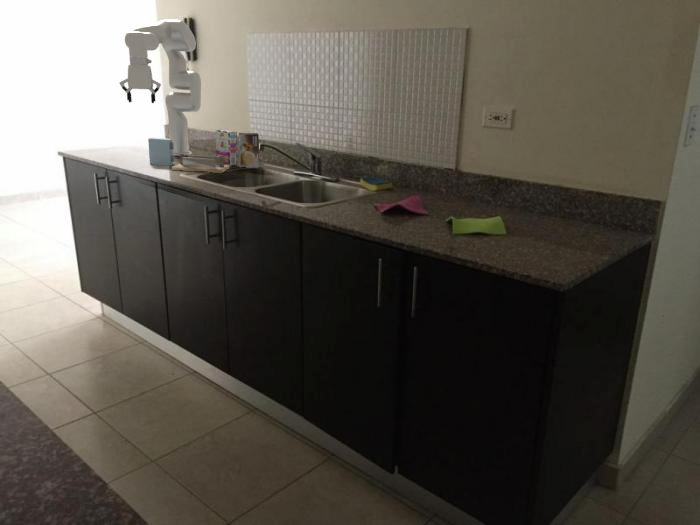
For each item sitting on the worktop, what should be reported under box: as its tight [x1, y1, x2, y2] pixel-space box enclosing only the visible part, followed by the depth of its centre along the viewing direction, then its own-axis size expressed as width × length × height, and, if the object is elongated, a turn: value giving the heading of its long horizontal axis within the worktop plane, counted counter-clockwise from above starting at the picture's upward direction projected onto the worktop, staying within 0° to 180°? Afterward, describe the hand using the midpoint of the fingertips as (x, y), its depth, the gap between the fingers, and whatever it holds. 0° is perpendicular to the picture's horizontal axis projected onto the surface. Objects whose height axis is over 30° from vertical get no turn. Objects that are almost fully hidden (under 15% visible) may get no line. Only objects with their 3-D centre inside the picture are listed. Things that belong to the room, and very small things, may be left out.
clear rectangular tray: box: [171, 153, 232, 174], centre depth 274 cm, size 15×23×6 cm, turn 84°
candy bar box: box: [215, 129, 238, 167], centre depth 287 cm, size 11×5×16 cm, turn 47°
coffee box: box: [238, 132, 260, 169], centre depth 284 cm, size 9×6×16 cm
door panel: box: [147, 137, 175, 166], centre depth 281 cm, size 4×11×12 cm, turn 84°
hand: (141, 102), depth 262 cm, fingers open, 9 cm apart
